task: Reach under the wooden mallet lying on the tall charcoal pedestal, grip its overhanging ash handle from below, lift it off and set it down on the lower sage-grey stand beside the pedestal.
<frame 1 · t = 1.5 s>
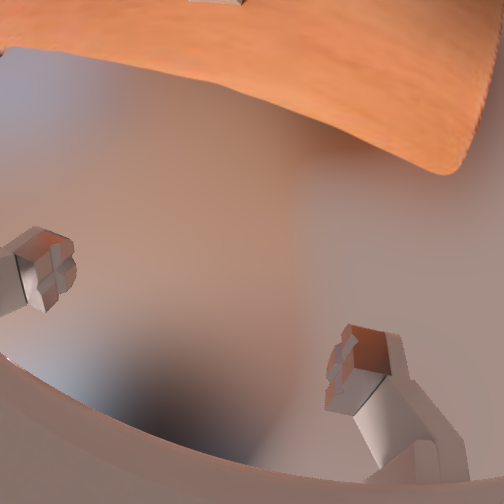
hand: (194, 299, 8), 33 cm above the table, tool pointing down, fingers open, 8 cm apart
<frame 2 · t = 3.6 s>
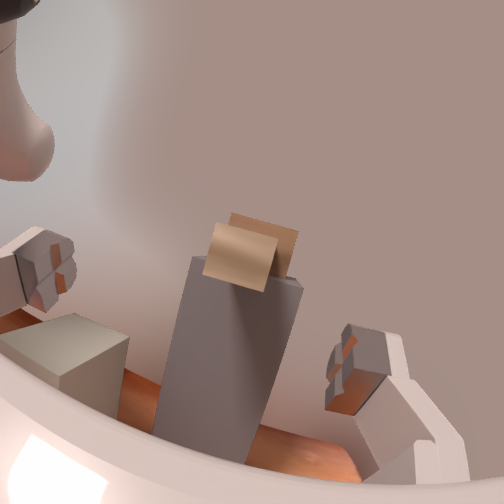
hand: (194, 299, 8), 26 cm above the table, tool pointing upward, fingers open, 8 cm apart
mallet: (250, 270, 32), point 26 cm above the table, touching pedestal
pedestal: (196, 464, 33), on the table
stand: (64, 467, 24), on the table
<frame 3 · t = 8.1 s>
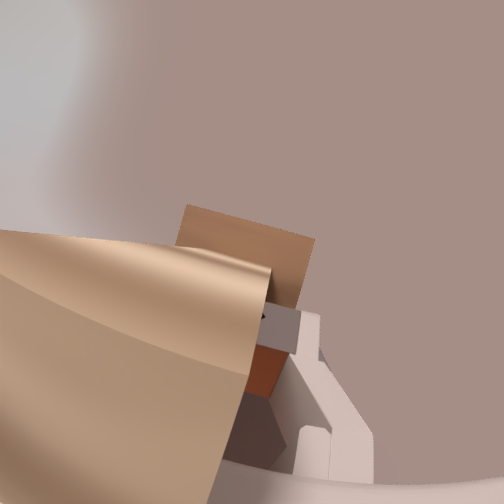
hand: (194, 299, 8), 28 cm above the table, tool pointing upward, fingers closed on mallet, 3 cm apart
mallet: (220, 316, 16), point 26 cm above the table, touching gripper, pedestal
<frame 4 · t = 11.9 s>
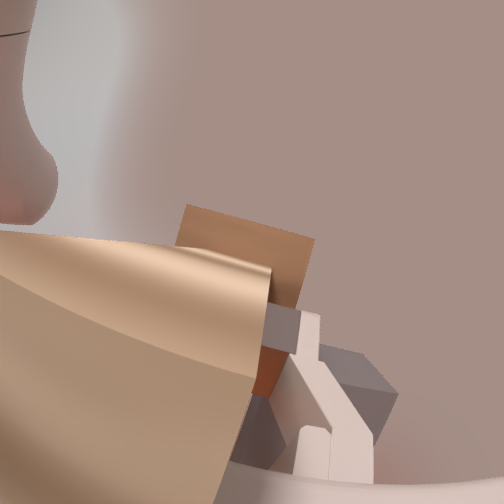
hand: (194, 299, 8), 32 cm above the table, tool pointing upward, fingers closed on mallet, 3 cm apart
mallet: (220, 316, 16), point 30 cm above the table, touching gripper
when the fingers open (20 cm above the table, at t = 15.6 s): mallet drops 2 cm, resting on stand.
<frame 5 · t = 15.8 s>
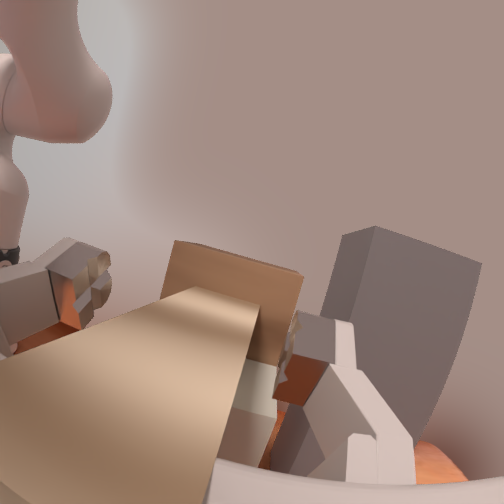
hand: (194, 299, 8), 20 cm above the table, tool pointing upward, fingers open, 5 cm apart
mallet: (209, 354, 16), point 16 cm above the table, touching stand
pedestal: (315, 486, 26), on the table
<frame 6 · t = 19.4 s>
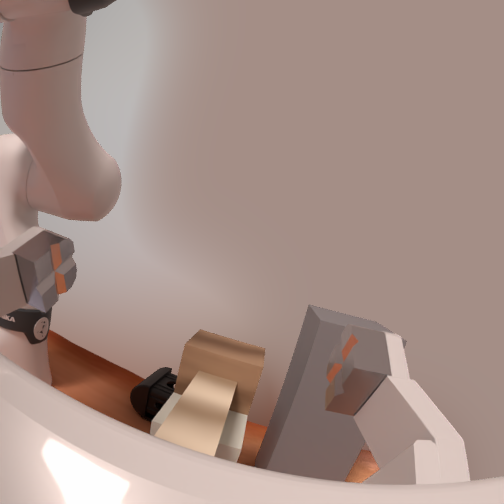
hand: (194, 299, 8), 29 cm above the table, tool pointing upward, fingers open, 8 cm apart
mallet: (208, 409, 25), point 16 cm above the table, touching stand
end cap: (157, 410, 49), on the table
pedestal: (287, 486, 36), on the table
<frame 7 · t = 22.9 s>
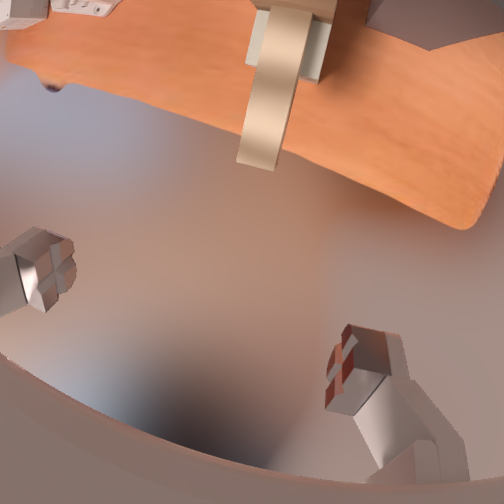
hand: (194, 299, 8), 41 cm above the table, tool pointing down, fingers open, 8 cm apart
small box: (37, 13, 39), on the table
mallet: (292, 25, 24), point 16 cm above the table, touching stand
pedestal: (404, 7, 31), on the table
stand: (302, 40, 37), on the table
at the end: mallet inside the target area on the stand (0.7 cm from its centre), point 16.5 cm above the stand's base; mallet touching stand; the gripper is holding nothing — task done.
